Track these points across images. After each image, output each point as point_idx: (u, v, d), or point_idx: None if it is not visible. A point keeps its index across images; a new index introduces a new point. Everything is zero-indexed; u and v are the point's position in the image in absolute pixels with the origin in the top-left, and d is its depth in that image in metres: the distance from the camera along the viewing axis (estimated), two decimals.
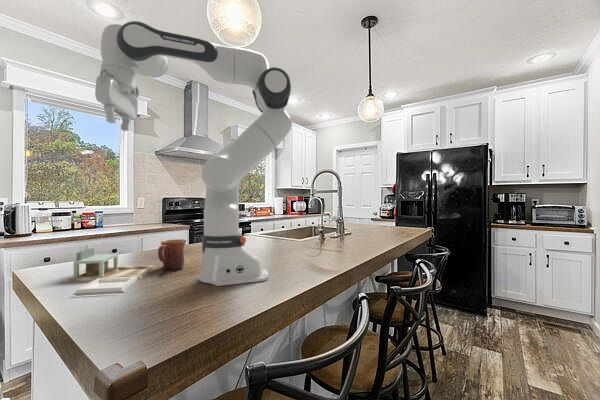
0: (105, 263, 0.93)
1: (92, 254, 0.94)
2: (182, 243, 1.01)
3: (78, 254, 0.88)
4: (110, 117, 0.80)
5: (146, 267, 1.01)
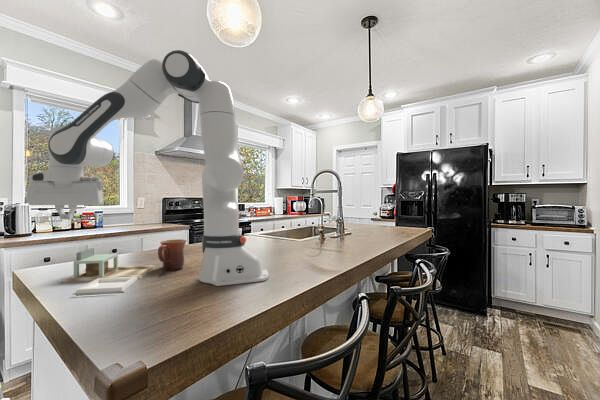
0: (105, 263, 0.93)
1: (92, 254, 0.94)
2: (182, 243, 1.01)
3: (78, 254, 0.88)
4: (71, 215, 0.91)
5: (146, 267, 1.01)
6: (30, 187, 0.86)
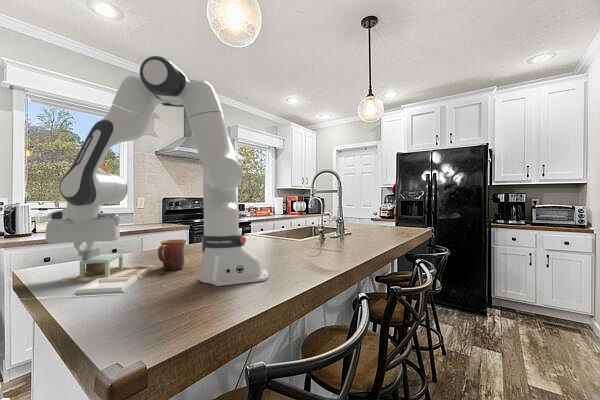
0: None
1: (97, 254, 0.95)
2: (182, 243, 1.01)
3: (84, 254, 0.88)
4: None
5: (146, 267, 1.01)
6: (49, 225, 0.87)
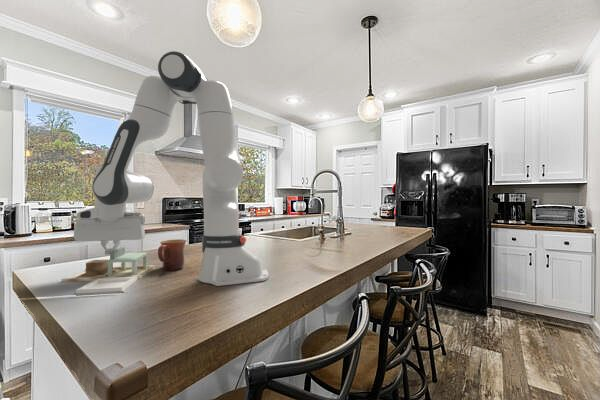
0: (105, 263, 0.93)
1: (123, 253, 0.96)
2: (182, 243, 1.01)
3: (112, 253, 0.90)
4: (115, 249, 0.93)
5: None
6: (77, 224, 0.89)
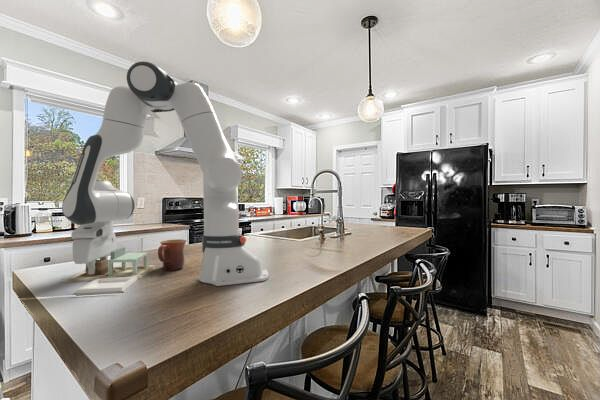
0: (105, 263, 0.93)
1: (123, 253, 0.96)
2: (182, 243, 1.01)
3: (112, 253, 0.90)
4: None
5: None
6: (92, 244, 0.84)
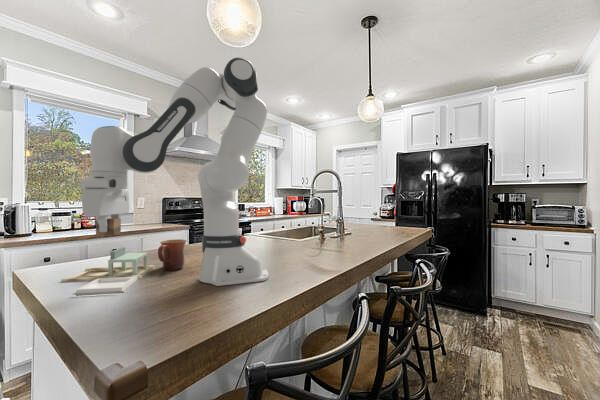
0: (117, 221, 0.81)
1: (123, 253, 0.96)
2: (182, 243, 1.01)
3: (112, 253, 0.90)
4: None
5: None
6: (104, 195, 0.73)
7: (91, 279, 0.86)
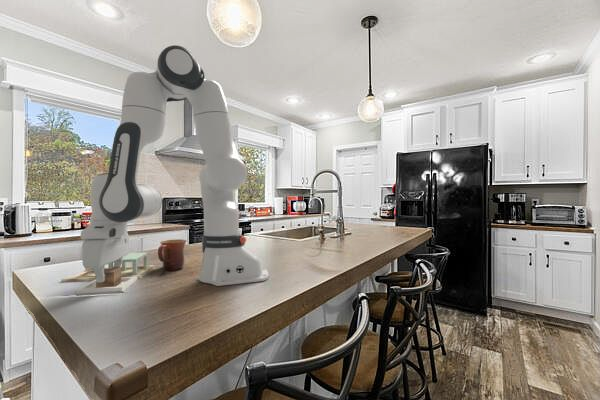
0: (117, 272, 0.81)
1: None
2: (182, 243, 1.01)
3: None
4: None
5: None
6: (104, 246, 0.73)
7: (91, 279, 0.86)
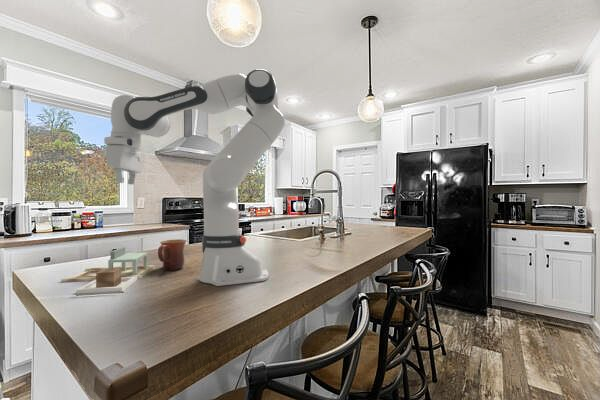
0: (117, 272, 0.81)
1: (123, 253, 0.96)
2: (182, 243, 1.01)
3: (112, 253, 0.90)
4: None
5: None
6: (123, 150, 0.89)
7: (91, 279, 0.86)
